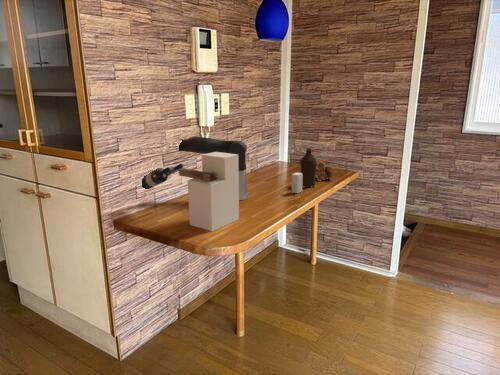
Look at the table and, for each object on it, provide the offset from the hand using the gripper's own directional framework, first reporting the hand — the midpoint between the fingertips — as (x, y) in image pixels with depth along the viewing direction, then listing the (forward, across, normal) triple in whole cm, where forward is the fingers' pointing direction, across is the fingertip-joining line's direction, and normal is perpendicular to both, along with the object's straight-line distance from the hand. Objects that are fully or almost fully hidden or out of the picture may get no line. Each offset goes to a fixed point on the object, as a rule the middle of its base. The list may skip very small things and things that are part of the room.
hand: (176, 167), depth 179 cm
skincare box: (+15, +70, +38) cm, 81 cm away
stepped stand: (+7, +4, +32) cm, 32 cm away
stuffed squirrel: (+14, +110, +39) cm, 117 cm away
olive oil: (+13, +88, +37) cm, 97 cm away
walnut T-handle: (+11, -1, +9) cm, 14 cm away
